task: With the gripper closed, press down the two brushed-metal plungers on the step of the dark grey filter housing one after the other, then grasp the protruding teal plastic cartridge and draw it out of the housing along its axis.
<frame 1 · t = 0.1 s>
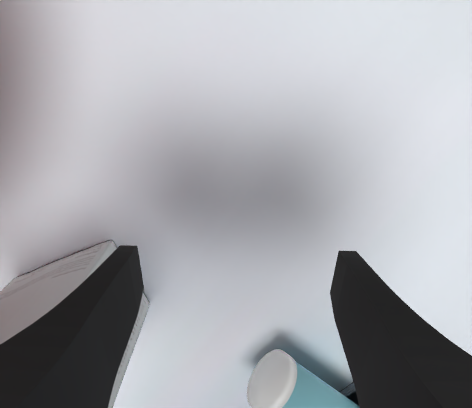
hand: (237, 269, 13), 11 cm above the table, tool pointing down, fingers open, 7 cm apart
skincare box: (86, 285, 27), on the table
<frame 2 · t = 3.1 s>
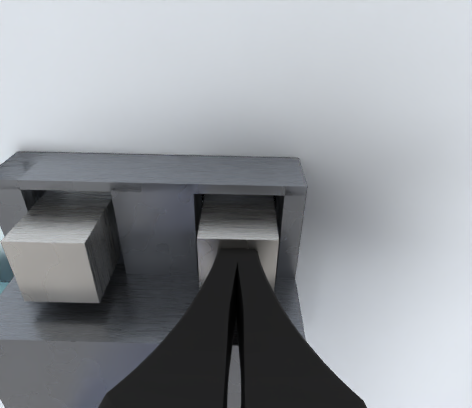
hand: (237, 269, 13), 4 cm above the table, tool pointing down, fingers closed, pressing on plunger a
cartridge: (1, 326, 17), point 3 cm above the table, slide at 7.0 cm
plunger b: (73, 241, 15), point 3 cm above the table, slide at 1.2 cm
housing: (171, 284, 20), on the table
plunger a: (237, 239, 15), point 2 cm above the table, slide at 1.7 cm, touching gripper
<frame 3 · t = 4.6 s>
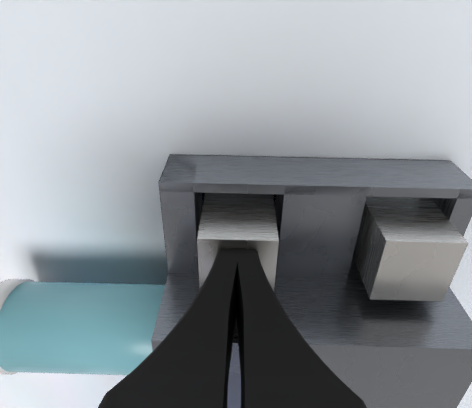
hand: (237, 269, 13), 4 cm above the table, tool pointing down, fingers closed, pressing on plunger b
cartridge: (141, 328, 17), point 3 cm above the table, slide at 7.0 cm
plunger b: (237, 239, 15), point 3 cm above the table, slide at 1.5 cm, touching gripper
housing: (292, 286, 20), on the table
plunger a: (398, 241, 15), point 2 cm above the table, slide at 1.7 cm
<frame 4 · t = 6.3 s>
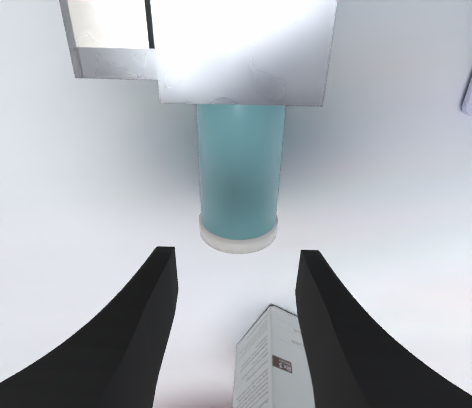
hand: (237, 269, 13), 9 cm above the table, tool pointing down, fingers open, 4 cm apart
skincare box: (291, 339, 30), on the table
cartridge: (240, 115, 17), point 3 cm above the table, slide at 7.0 cm
plunger b: (120, 3, 15), point 2 cm above the table, slide at 1.7 cm
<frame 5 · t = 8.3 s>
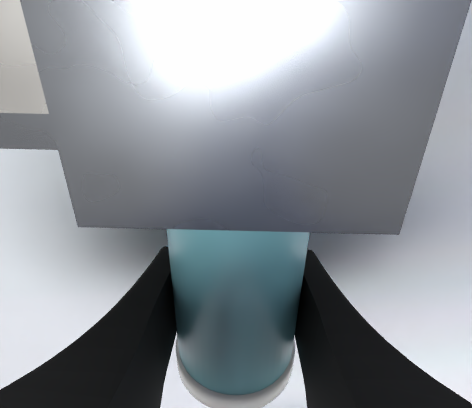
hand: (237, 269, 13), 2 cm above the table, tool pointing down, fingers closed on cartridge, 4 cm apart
cartridge: (238, 207, 10), point 3 cm above the table, slide at 7.0 cm, touching gripper
plunger b: (21, 26, 8), point 2 cm above the table, slide at 1.7 cm
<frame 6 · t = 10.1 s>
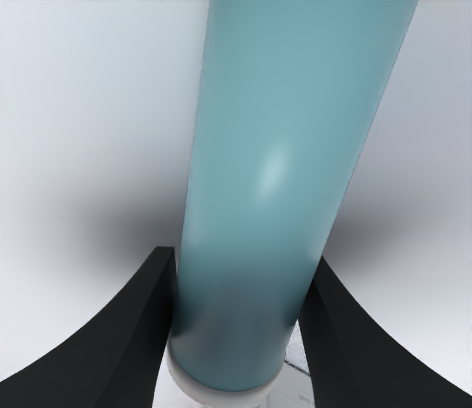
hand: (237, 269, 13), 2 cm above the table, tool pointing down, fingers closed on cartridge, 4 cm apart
skincare box: (284, 399, 21), on the table
cartridge: (259, 204, 10), point 3 cm above the table, slide at 12.3 cm, touching gripper
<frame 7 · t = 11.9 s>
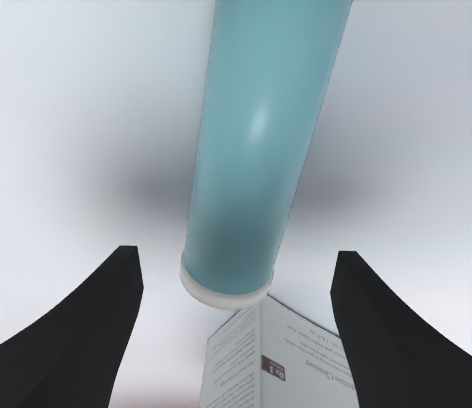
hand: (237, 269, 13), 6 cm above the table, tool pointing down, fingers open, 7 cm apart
skincare box: (276, 338, 24), on the table
cartridge: (252, 147, 14), point 3 cm above the table, slide at 12.4 cm
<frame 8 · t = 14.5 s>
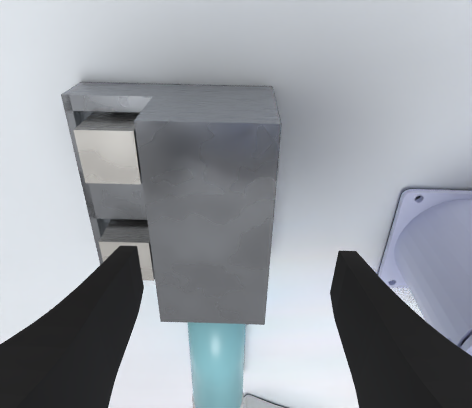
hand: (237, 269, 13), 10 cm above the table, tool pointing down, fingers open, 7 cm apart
cartridge: (217, 352, 27), point 3 cm above the table, slide at 12.4 cm
plunger b: (135, 242, 23), point 2 cm above the table, slide at 1.7 cm
housing: (218, 182, 23), on the table
plunger a: (119, 143, 19), point 2 cm above the table, slide at 1.7 cm
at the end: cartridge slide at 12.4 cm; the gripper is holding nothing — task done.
